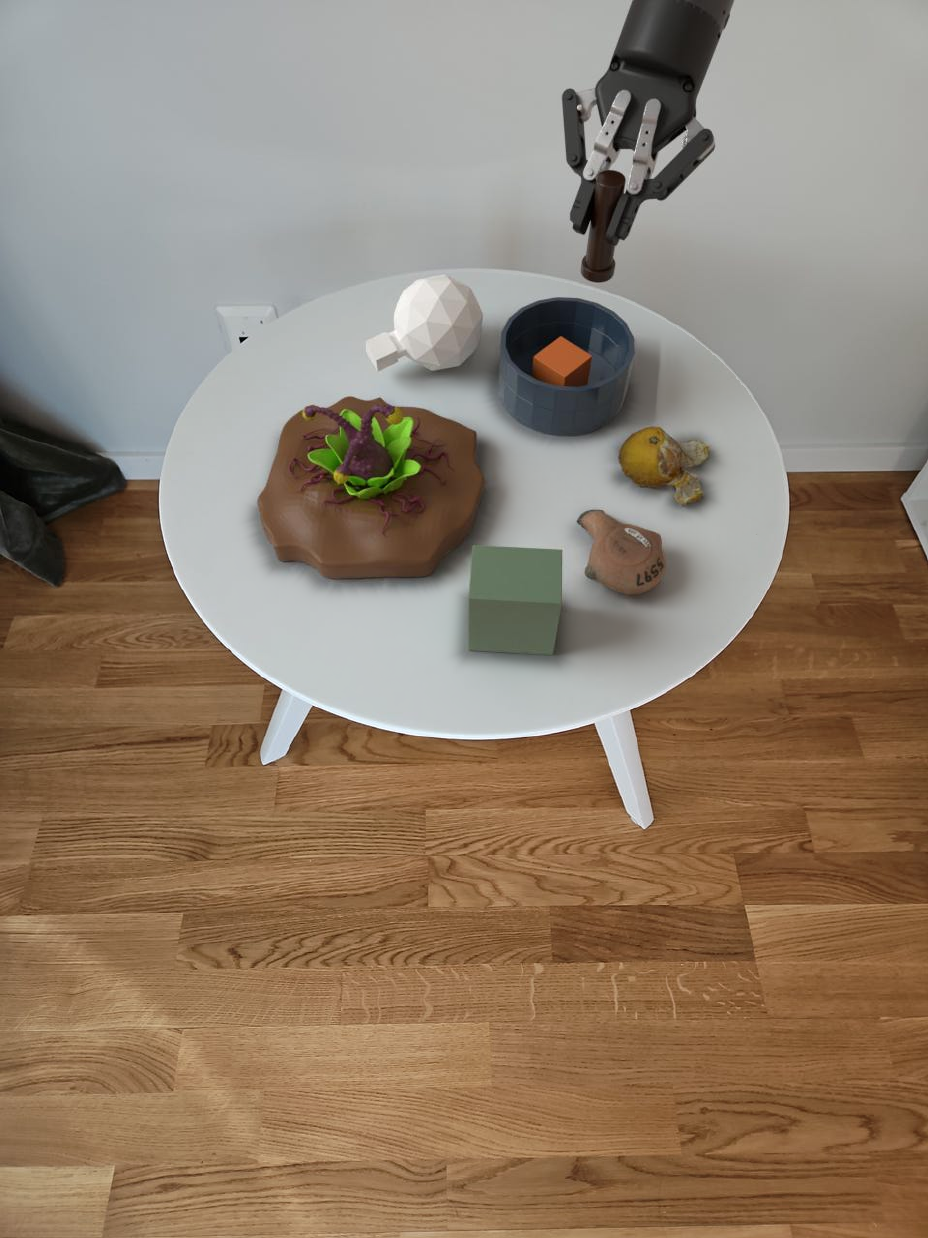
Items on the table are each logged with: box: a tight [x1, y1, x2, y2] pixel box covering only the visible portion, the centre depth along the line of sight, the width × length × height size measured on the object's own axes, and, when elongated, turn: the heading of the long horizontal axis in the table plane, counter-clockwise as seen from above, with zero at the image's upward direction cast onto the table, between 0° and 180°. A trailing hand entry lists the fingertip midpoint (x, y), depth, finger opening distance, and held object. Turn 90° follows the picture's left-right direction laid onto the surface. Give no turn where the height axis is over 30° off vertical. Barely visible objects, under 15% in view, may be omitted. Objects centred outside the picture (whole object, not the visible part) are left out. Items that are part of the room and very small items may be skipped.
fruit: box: [617, 426, 710, 506], centre depth 83 cm, size 8×8×4 cm
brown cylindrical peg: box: [580, 169, 627, 284], centre depth 77 cm, size 3×3×9 cm
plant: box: [256, 395, 485, 580], centre depth 78 cm, size 20×20×11 cm
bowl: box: [497, 296, 636, 437], centre depth 87 cm, size 13×13×6 cm
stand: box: [467, 544, 563, 656], centre depth 72 cm, size 7×5×8 cm
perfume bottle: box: [364, 273, 484, 373], centre depth 88 cm, size 9×9×12 cm
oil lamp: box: [576, 509, 667, 595], centre depth 78 cm, size 9×4×8 cm
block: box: [532, 336, 592, 387], centre depth 87 cm, size 4×4×4 cm
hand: (595, 236), depth 76 cm, fingers closed on brown cylindrical peg, 2 cm apart
